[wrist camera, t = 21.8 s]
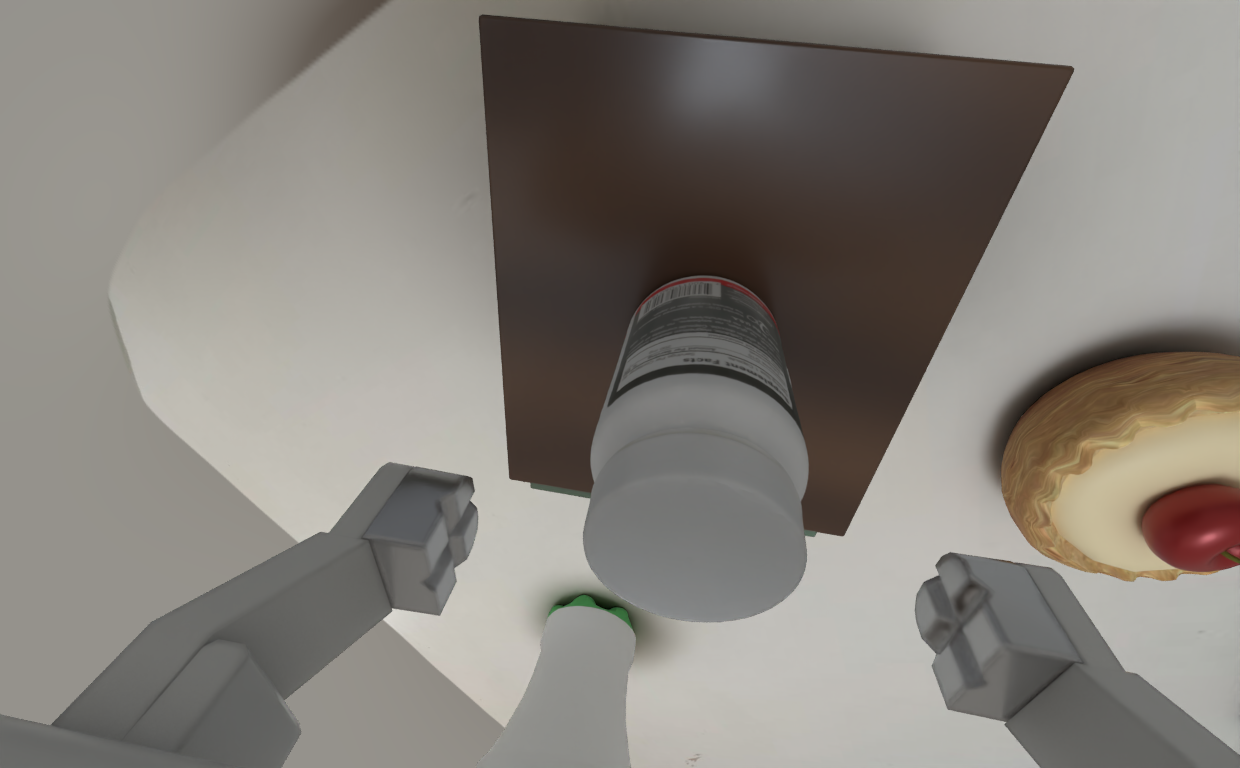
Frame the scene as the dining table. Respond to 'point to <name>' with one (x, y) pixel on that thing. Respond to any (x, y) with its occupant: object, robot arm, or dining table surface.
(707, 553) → the pill bottle
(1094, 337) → the dining table surface
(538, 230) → the cabinet
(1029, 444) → the pastry
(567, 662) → the cup
